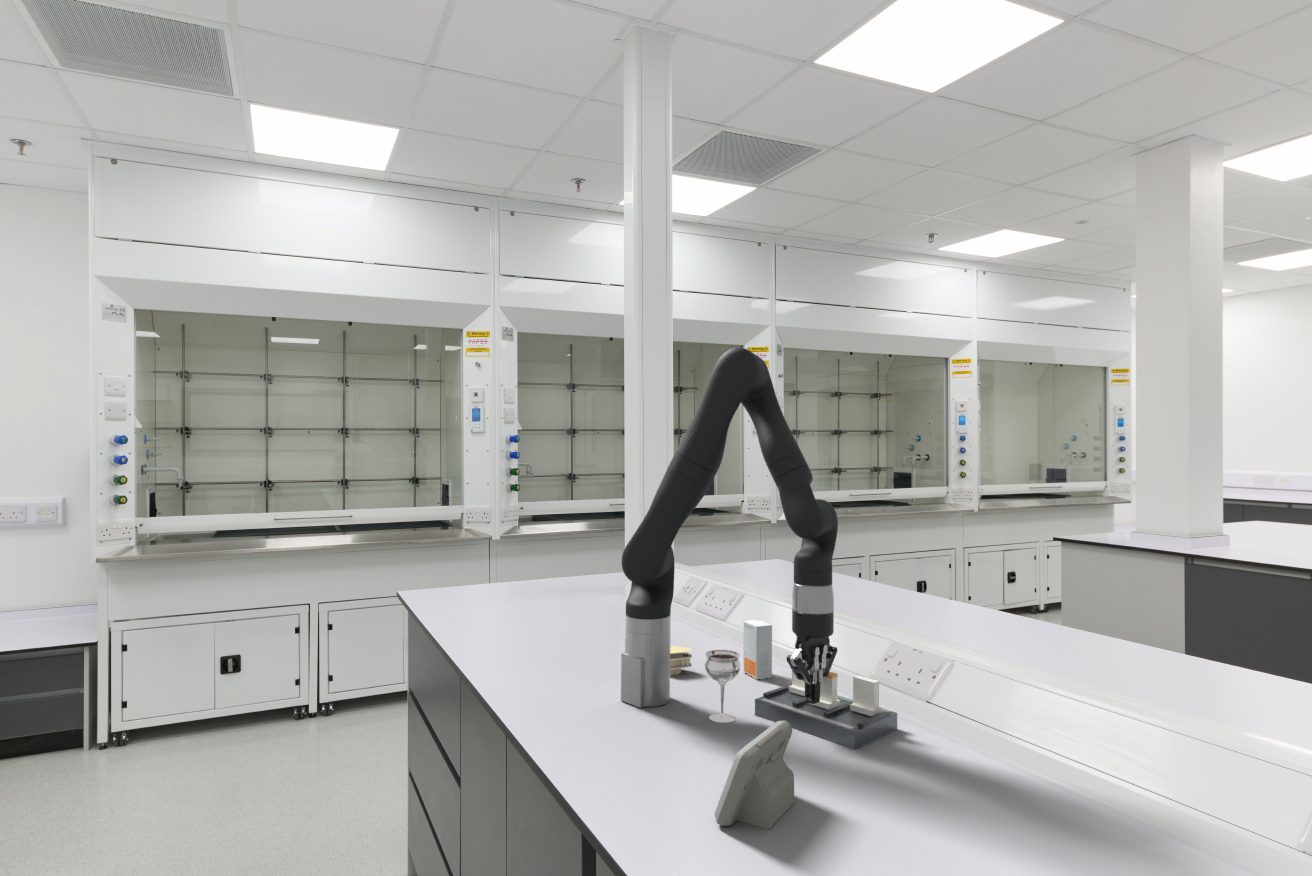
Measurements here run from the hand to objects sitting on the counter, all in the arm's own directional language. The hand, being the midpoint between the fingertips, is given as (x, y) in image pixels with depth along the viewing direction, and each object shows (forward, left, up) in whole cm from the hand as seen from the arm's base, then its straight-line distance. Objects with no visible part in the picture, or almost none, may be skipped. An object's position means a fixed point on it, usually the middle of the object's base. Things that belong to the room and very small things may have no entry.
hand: (812, 702), depth 133 cm
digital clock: (-32, -13, -5) cm, 35 cm away
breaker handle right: (+7, -7, -1) cm, 10 cm away
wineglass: (-9, +14, -5) cm, 17 cm away
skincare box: (+17, +27, -5) cm, 32 cm away
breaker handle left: (+7, +7, -1) cm, 10 cm away
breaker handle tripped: (+4, 0, -1) cm, 4 cm away
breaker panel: (+4, 0, -5) cm, 6 cm away
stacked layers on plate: (+4, +41, -5) cm, 42 cm away
